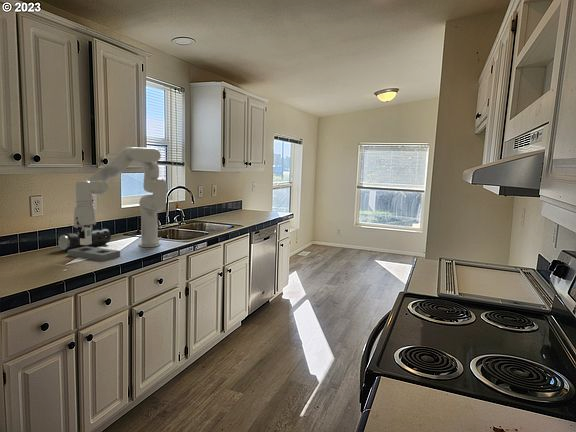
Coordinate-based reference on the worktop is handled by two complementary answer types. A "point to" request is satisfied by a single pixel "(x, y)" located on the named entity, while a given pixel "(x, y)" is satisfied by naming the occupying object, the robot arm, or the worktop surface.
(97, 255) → the socket block
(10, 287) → the worktop surface
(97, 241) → the black flashlight
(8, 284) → the worktop surface
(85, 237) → the plug
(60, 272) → the worktop surface
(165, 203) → the robot arm
